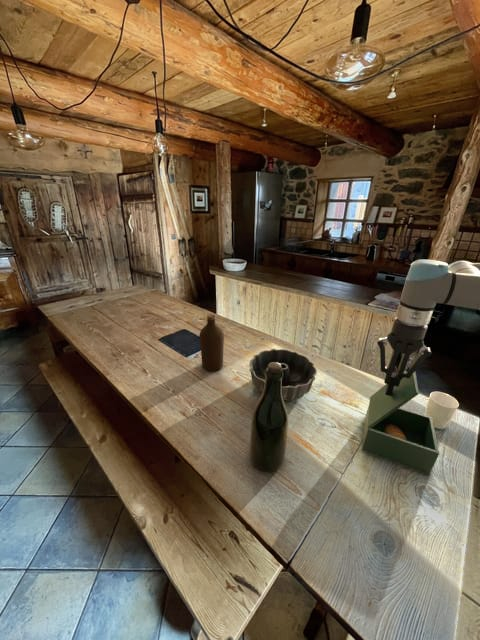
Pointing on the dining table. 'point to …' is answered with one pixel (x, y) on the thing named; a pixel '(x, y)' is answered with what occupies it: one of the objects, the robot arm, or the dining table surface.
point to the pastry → (394, 431)
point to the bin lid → (391, 399)
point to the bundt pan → (284, 372)
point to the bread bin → (410, 453)
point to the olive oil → (211, 345)
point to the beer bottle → (269, 423)
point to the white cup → (441, 409)
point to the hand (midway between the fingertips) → (388, 392)
